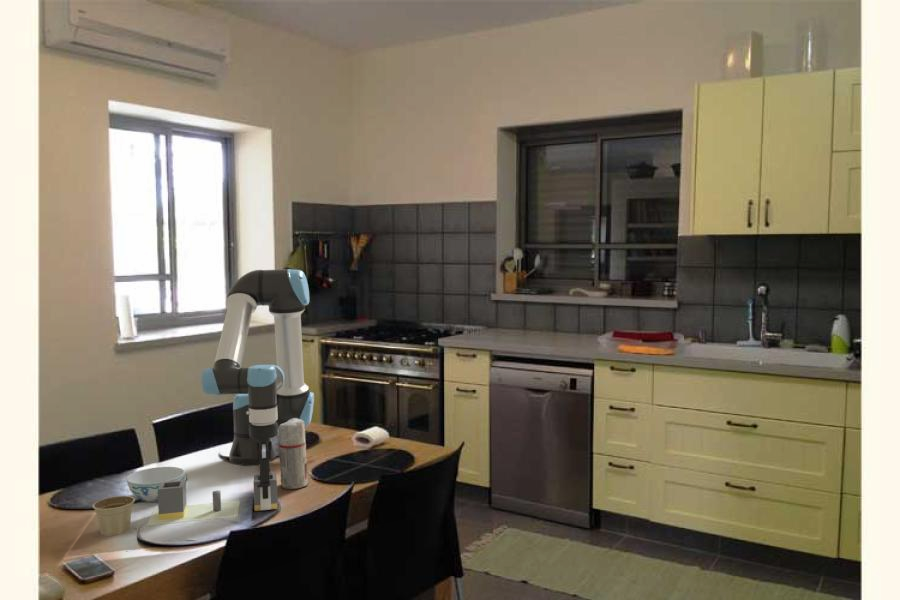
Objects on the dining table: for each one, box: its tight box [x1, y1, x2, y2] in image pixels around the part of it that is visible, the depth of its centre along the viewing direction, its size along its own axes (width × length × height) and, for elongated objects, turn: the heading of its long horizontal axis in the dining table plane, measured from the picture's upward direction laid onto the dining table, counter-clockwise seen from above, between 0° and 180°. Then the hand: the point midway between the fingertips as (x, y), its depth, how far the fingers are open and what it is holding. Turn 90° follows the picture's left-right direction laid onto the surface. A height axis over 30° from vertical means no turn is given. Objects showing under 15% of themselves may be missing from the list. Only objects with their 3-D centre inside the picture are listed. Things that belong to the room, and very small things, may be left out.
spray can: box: [277, 418, 309, 490], centre depth 207 cm, size 8×8×20 cm
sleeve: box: [253, 472, 278, 512], centre depth 190 cm, size 6×6×8 cm
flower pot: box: [92, 495, 136, 537], centre depth 171 cm, size 9×9×9 cm
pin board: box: [146, 490, 241, 527], centre depth 183 cm, size 12×22×6 cm, turn 104°
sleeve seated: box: [157, 479, 188, 520], centre depth 181 cm, size 6×6×8 cm
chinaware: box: [126, 466, 185, 503], centre depth 195 cm, size 15×15×8 cm
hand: (266, 504), depth 190 cm, fingers closed on sleeve, 6 cm apart
